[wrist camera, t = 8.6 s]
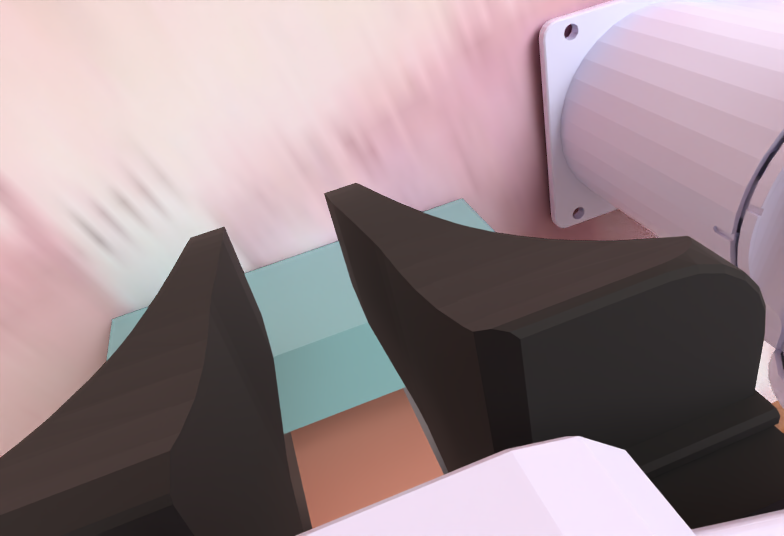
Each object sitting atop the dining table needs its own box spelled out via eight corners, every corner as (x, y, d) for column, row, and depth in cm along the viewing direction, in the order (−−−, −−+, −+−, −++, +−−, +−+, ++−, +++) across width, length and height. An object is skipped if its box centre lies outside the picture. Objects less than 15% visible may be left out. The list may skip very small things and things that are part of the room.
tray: (462, 198, 23) (526, 264, 19) (502, 445, 31) (553, 529, 26) (112, 319, 21) (97, 421, 17) (250, 548, 29) (264, 656, 25)
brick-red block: (417, 437, 27) (472, 558, 22) (321, 479, 26) (355, 612, 21) (392, 366, 24) (448, 483, 19) (285, 410, 24) (315, 542, 19)
